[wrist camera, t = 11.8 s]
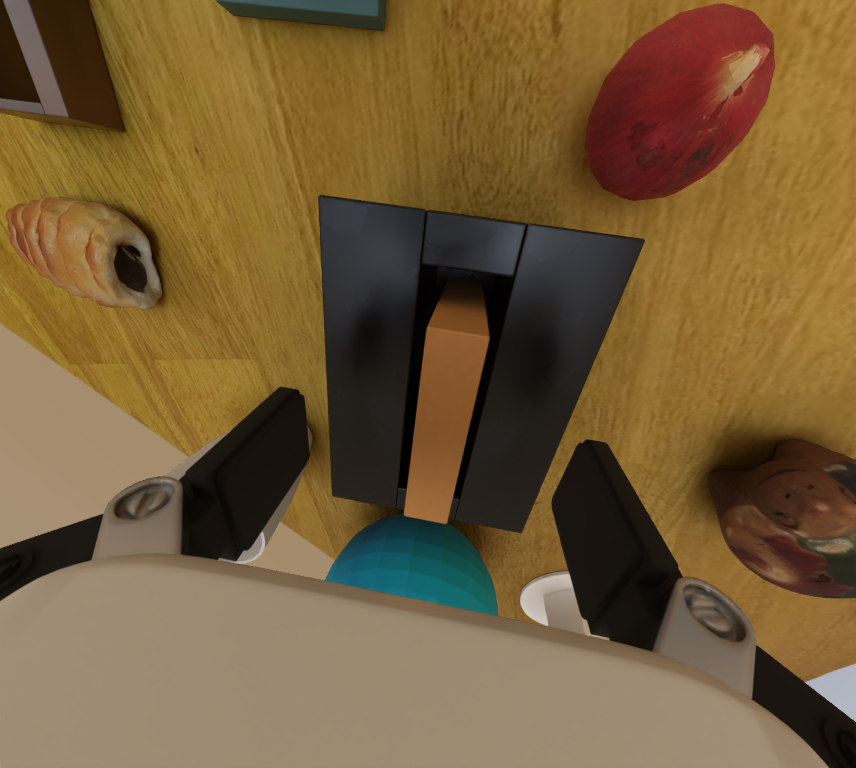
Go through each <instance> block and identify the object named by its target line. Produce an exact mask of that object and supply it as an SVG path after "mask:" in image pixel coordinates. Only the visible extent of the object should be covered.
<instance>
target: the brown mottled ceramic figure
mask: <svg viewBox="0 0 856 768" xmlns="http://www.w3.org/2000/svg"><path fill="white" fill-rule="evenodd" d="M708 480H709V488H710V491H711V494H712V497H713V501H714V504H715V508H716V511H717V515H718V519H719V523H720V527H721V531H722V533H723V536H724V539H725V541H726V543H727V545H728V547H729V549H730V550H731V551H732V553H733V554H734V555H735V556H736V557H737V558H738V559H739V561H740V562H741V563H742V564H744V565H745V566H746V567H747V568H748V569H750V570H751V571H752V572H754V573H755V574H757V575H758V576H760V577H761V578H762V579H764V580H766V581H768V582H770V583H772V584H775V585H777V586H779V587H781V588H784V589H787V590H790V591H793V592H796V593H800V594H804V595H809V596H815V597H822V598H856V460H855V459H852V458H850V457H848V456H846V455H843V454H841V453H837V452H834V451H831V450H829V449H827V448H824V447H822V446H820V445H817V444H814V443H810V442H807V441H804V440H799V439H788V440H784V441H782V442H780V443H779V445H778V446H777V449H776V452H775V455H774V458H773V461H769V462H766V463H764V464H761V465H759V466H758V467H756V468H755V469H753V470H752V471H736V470H728V469H718V470H715V471H713V472H712V473H711V474H710V476H709V479H708Z"/></svg>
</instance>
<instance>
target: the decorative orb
mask: <svg viewBox="0 0 856 768" xmlns="http://www.w3.org/2000/svg"><path fill="white" fill-rule="evenodd" d="M325 581H329V582H334V583H339V584H344V585H349V586H354V587H359V588H364V589H369V590H374V591H379V592H384V593H389V594H394V595H398V596H403V597H408V598H413V599H418V600H423V601H428V602H433V603H437V604H442V605H447V606H452V607H457V608H462V609H466V610H471V611H476V612H481V613H485V614H490V615H495V616H498V608H497V600H496V593H495V589H494V586H493V582H492V579H491V576H490V574H489V572H488V570H487V568H486V566H485V564H484V562H483V560H482V558H481V556H480V554H479V553H478V551H477V550H476V548H475V547H474V545H473V544H472V543H471V542H470V541H469V540H468V539H467V538H466V537H465V536H464V535H463V534H462V533H461V532H460V531H459V530H457V529H456V528H455V527H454V526H452V525H451V524H449V523H447V524H443V523H438V522H433V521H428V520H423V519H418V518H413V517H408V516H404V513H401V514H396V515H390V516H387V517H384V518H382V519H380V520H378V521H376V522H374V523H372V524H370V525H369V526H367V527H365V528H364V529H363V530H361V531H360V532H358V533H357V534H356V535H355V536H354V537H353V538H352V539H351V541H350V542H349V543H348V544H347V545H346V547H345V548H344V549H343V551H342V552H341V553H340V555H339V556H338V557H337V559H336V560H335V562H334V563H333V565H332V567H331V569H330V571H329V573H328V575H327V577H326V579H325Z"/></svg>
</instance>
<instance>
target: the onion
mask: <svg viewBox="0 0 856 768" xmlns="http://www.w3.org/2000/svg"><path fill="white" fill-rule="evenodd" d="M774 69H775V60H774V42H773V34H772V33H771V31H770V30H769V29H768V28H767V27H766V26H765V24H764V23H763V22H762V21H761V20H760V19H759V17H758V16H757V15H756V14H755V13H754V12H752V11H749V10H745V9H742V8H738V7H735V6H731V5H728V4H724V3H723V4H714V5H710V6H706V7H702V8H698V9H693V10H689V11H685V12H681V13H679V14H677V15H675V16H674V17H672V18H671V19H669V20H668V21H666V22H665V23H663V24H661V25H660V26H658V27H657V28H655V29H654V30H652V31H651V32H649V33H647V34H646V35H644V36H643V37H641V38H640V39H639V40H638V41H636V42H635V43H634V44H633V45H632V46H631V47H630V48H629V50H628V51H627V52H626V53H625V54H624V56H623V57H622V58H621V59H620V60H619V62H618V63H617V64H616V65H615V67H614V68H613V69H612V70H611V71H610V73H609V74H608V75H607V76H606V77H605V80H604V82H603V85H602V87H601V89H600V92H599V94H598V97H597V99H596V102H595V104H594V107H593V109H592V111H591V114H590V116H589V118H588V126H587V134H586V142H585V149H586V154H587V159H588V163H589V168H590V171H591V173H592V174H593V175H594V177H595V178H596V179H597V181H598V182H599V183H600V185H601V186H602V187H603V189H604V190H607V191H609V192H611V193H613V194H615V195H618V196H620V197H622V198H624V199H628V200H632V201H636V200H645V199H653V198H661V197H666V196H669V195H671V194H674V193H676V192H678V191H680V190H682V189H683V188H685V187H687V186H689V185H690V184H692V183H694V182H696V181H697V180H699V179H701V178H703V177H704V176H706V175H707V174H708V173H710V172H711V171H712V170H713V169H714V168H716V167H717V166H718V165H719V164H720V163H721V161H722V160H723V159H724V158H725V157H726V156H727V155H728V154H729V153H730V152H731V151H732V150H733V149H734V148H735V147H736V146H737V145H738V144H739V143H740V142H741V141H742V140H743V138H744V137H745V136H746V135H747V134H748V132H749V130H750V129H751V127H752V125H753V123H754V122H755V120H756V118H757V117H758V115H759V113H760V112H761V110H762V108H763V106H764V105H765V103H766V101H767V98H768V94H769V90H770V85H771V81H772V77H773V73H774Z"/></svg>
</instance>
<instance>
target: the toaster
mask: <svg viewBox="0 0 856 768" xmlns="http://www.w3.org/2000/svg"><path fill="white" fill-rule="evenodd" d="M318 202H319V223H320V245H321V266H322V288H323V310H324V331H325V353H326V374H327V396H328V418H329V439H330V461H331V482H332V496H334V497H339V498H344V499H349V500H354V501H360V502H365V503H370V504H375V505H380V506H385V507H390V508H397V509H400V510H404V509H405V501H406V493H407V485H408V477H409V468H410V460H411V452H412V444H413V436H414V428H415V420H416V411H417V403H418V395H419V387H420V379H421V371H422V363H423V354H424V346H425V338H426V330H427V327H428V324H429V322H430V320H431V317H432V315H433V313H434V311H435V308H436V306H437V304H438V301H439V299H440V297H441V295H442V292H443V290H444V288H445V285H446V283H447V281H448V278H449V277H450V276H451V277H457V278H464V279H471V280H478V281H482V285H483V293H484V300H485V307H486V315H487V322H488V330H489V337H490V339H489V344H488V348H487V352H486V357H485V361H484V365H483V370H482V374H481V378H480V383H479V387H478V391H477V396H476V400H475V404H474V409H473V413H472V417H471V422H470V426H469V430H468V435H467V439H466V443H465V448H464V452H463V456H462V461H461V465H460V469H459V474H458V478H457V482H456V487H455V491H454V495H453V500H452V504H451V508H450V513H449V517H448V519H451V520H454V519H455V520H456V521H461V522H466V523H471V524H477V525H482V526H487V527H492V528H497V529H502V530H507V531H512V532H518V533H522V531H523V529H524V526H525V524H526V522H527V519H528V517H529V514H530V512H531V510H532V507H533V505H534V503H535V500H536V498H537V496H538V493H539V491H540V488H541V486H542V484H543V481H544V479H545V477H546V474H547V472H548V469H549V467H550V465H551V462H552V460H553V458H554V455H555V453H556V451H557V448H558V446H559V443H560V441H561V439H562V436H563V434H564V432H565V429H566V427H567V424H568V422H569V420H570V417H571V415H572V413H573V410H574V408H575V406H576V403H577V401H578V398H579V396H580V394H581V391H582V389H583V387H584V384H585V382H586V379H587V377H588V375H589V372H590V370H591V368H592V365H593V363H594V360H595V358H596V356H597V353H598V351H599V349H600V346H601V344H602V342H603V339H604V337H605V334H606V332H607V330H608V327H609V325H610V323H611V320H612V318H613V315H614V313H615V311H616V308H617V306H618V304H619V301H620V299H621V297H622V294H623V292H624V289H625V287H626V285H627V282H628V280H629V278H630V275H631V273H632V270H633V268H634V266H635V263H636V261H637V259H638V256H639V254H640V252H641V249H642V247H643V244H644V242H645V240H644V239H640V238H633V237H625V236H618V235H611V234H603V233H596V232H589V231H581V230H574V229H567V228H559V227H552V226H545V225H537V224H530V223H523V222H515V221H508V220H501V219H493V218H486V217H479V216H471V215H464V214H457V213H449V212H442V211H435V210H426V209H420V208H413V207H406V206H398V205H391V204H384V203H376V202H369V201H362V200H354V199H347V198H340V197H332V196H325V195H319V197H318Z"/></svg>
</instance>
